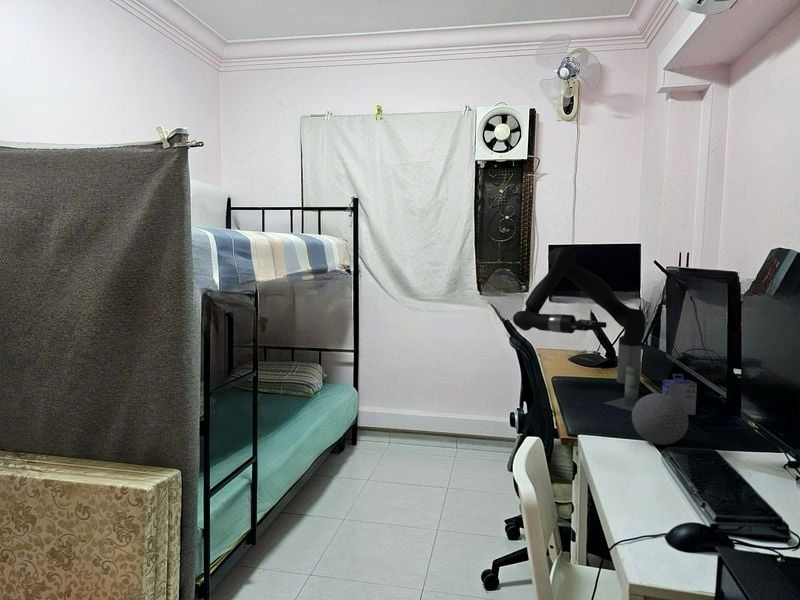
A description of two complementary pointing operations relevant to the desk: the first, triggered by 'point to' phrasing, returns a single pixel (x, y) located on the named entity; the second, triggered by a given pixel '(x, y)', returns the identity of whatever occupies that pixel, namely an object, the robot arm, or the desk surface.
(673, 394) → the ink cartridge box
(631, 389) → the green pillar
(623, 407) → the tapping mat
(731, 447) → the desk surface
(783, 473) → the desk surface
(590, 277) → the robot arm
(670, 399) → the decorative ball
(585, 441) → the desk surface
